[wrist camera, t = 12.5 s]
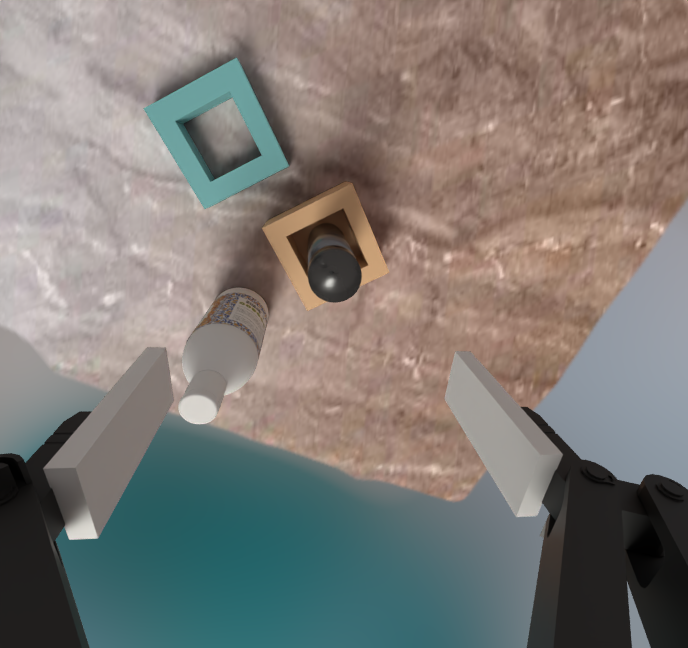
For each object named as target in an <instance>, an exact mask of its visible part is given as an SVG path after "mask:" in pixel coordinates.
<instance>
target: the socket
mask: <svg viewBox="0 0 688 648" xmlns="http://www.w3.org/2000/svg"><path fill="white" fill-rule="evenodd" d="M323 223H330V224H333V225H336V226H337V227H338V228H340V230H341V231H342V232H343V234H344V236H345V238H346V240H347V242H348V244H349V246H350V248H351V250H352V252H353V254H354V256H355V258H356V260H357V262H358V263H359V265H360V268H361V272H362V280H361V284H360V286H362V285H364V284H366V283H368V282H370V281H372V280H374V279H377V278H379V277H381V276H383V275H385V274H387V273H389V271H388V268H387V266H386V263H385V261H384V259H383V256H382V254H381V251H380V249H379V246H378V244H377V242H376V239H375V237H374V234H373V232H372V230H371V227H370V225H369V222H368V220H367V217H366V215H365V213H364V210H363V208H362V205H361V203H360V201H359V198H358V196H357V193H356V191H355V188H354V186H353V184H352V183H350V182H347V181H345V182H343V183H341V184H339V185H337V186H335V187H333V188H331V189H329V190H327V191H325V192H323V193H321V194H319V195H317V196H315V197H313V198H311V199H309V200H307V201H305V202H303V203H301V204H299V205H297V206H295V207H293V208H291V209H289V210H287V211H285V212H283V213H281V214H279V215H277V216H275V217H273V218H271V219H269V220H268V221H267V222H266V223H265V225H264V226H263V228H262V229H263V231H264V233H265V235H266V237H267V238H268V240H269V242H270V244H271V246H272V247H273V249H274V251H275V253H276V255H277V257H278V258H279V260H280V262H281V264H282V266H283V267H284V269H285V271H286V273H287V275H288V276H289V278H290V280H291V282H292V284H293V286H294V287H295V289H296V291H297V293H298V295H299V296H300V298H301V300H302V302H303V304H304V306H305V307H306V309H307V311H308V310H311V309H313V308H315V307H317V306H319V305H321V304H323V303H325V302H327V301H324V300H322V299H320V298H319V297H317V296H316V295H315V294H314V292H313V291H312V290H311V288H310V285H309V282H308V237H309V234H310V232H311V231H312V230H313V229H314V228H315V227H316V226H318V225H320V224H323ZM360 286H359V287H360Z"/></svg>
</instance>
